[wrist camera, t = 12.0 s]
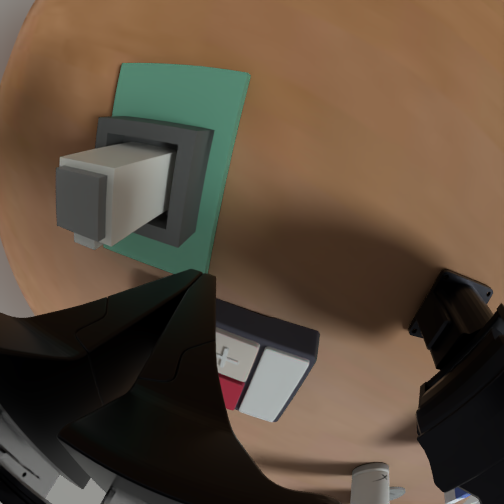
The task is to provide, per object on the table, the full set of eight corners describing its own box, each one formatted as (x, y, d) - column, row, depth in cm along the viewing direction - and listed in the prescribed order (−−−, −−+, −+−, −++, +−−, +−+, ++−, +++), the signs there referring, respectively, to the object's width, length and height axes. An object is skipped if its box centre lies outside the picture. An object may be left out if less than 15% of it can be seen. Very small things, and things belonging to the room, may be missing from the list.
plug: (180, 151, 18) (106, 171, 11) (170, 214, 20) (104, 262, 13) (132, 141, 18) (51, 159, 11) (125, 201, 20) (54, 239, 13)
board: (250, 75, 16) (234, 63, 13) (206, 277, 24) (188, 304, 20) (129, 64, 17) (97, 58, 14) (109, 243, 25) (82, 261, 21)
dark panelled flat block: (138, 295, 22) (317, 364, 20) (164, 271, 26) (321, 330, 24) (140, 374, 27) (274, 429, 25) (159, 350, 31) (282, 398, 29)
